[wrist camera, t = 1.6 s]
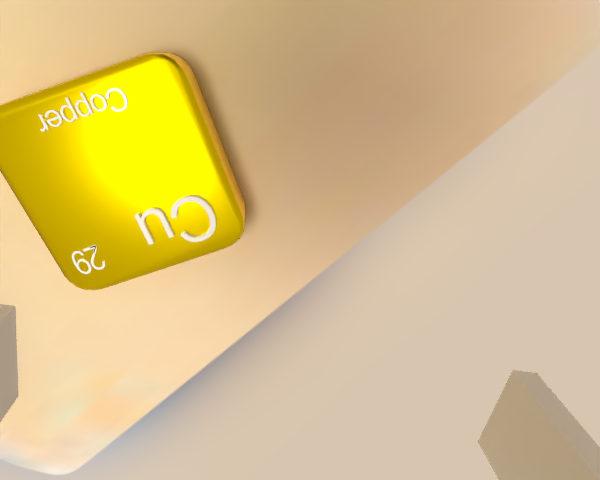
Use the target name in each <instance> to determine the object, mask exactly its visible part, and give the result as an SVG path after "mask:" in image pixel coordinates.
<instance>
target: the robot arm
mask: <svg viewBox="0 0 600 480" xmlns="http://www.w3.org/2000/svg"><path fill="white" fill-rule="evenodd" d="M17 397H18V373H17V343H16V312H15V306H9V305H2V304H0V422H1V420H2V419H3V418H4V416H5V415H6V413H7V412H8V410H9V409H10V407H11V406H12V404H13V403H14V402H15V400H16V399H17ZM478 443H479V444H480V446H481V448H482V450H483V452H484V453H485V455H486V457H487V459H488V461H489V462H490V464H491V466H492V468H493V470H494V472H495V473H496V475H497V477H498V479H499V480H600V447H599V446H598V445H597V444H596V442H595V441H594V440H593V439H592V438H591V437H590V435H589V434H588V433H587V432H586V431H585V430H584V429H583V427H582V426H581V425H580V424H579V422H578V421H577V420H576V419H575V418H574V417H573V415H572V414H571V413H570V412H569V411H568V409H567V408H566V407H565V406H564V405H563V403H562V402H561V401H560V400H559V399H558V398H557V396H556V395H555V394H554V393H553V392H552V390H551V389H550V388H549V387H548V386H547V385H546V383H545V382H544V381H543V380H542V379H541V377H540V376H539V375H538V374H537V373H531V372H522V371H515V370H513V371H512V373H511V375H510V377H509V379H508V381H507V383H506V385H505V387H504V389H503V391H502V393H501V395H500V398H499V400H498V402H497V404H496V406H495V408H494V410H493V412H492V414H491V416H490V418H489V420H488V422H487V424H486V426H485V428H484V430H483V432H482V434H481V437H480V438H479V440H478Z"/></svg>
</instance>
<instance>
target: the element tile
mask: <svg viewBox="0 0 600 480" xmlns="http://www.w3.org/2000/svg"><path fill="white" fill-rule="evenodd" d="M0 171H1V173H2V174H3V176H4V178H5V179H6V181H7V182H8V184H9V186H10V187H11V189H12V191H13V192H14V194H15V196H16V197H17V199H18V200H19V202H20V204H21V205H22V207H23V209H24V210H25V212H26V214H27V215H28V217H29V218H30V220H31V222H32V223H33V225H34V227H35V228H36V230H37V231H38V233H39V235H40V236H41V238H42V240H43V241H44V243H45V245H46V246H47V248H48V249H49V251H50V253H51V254H52V256H53V258H54V259H55V261H56V263H57V264H58V266H59V267H60V269H61V271H62V272H63V274H64V276H65V277H66V278H67V279H68V280H69V281H70V282H71V283H73V284H74V285H75V286H76V287H79V288H82V289H84V290H99V289H103V288H106V287H109V286H112V285H116V284H119V283H122V282H125V281H128V280H131V279H134V278H137V277H140V276H143V275H146V274H149V273H152V272H155V271H158V270H161V269H164V268H167V267H170V266H173V265H176V264H179V263H182V262H185V261H188V260H191V259H194V258H197V257H200V256H203V255H206V254H209V253H212V252H215V251H218V250H221V249H224V248H226V247H228V246H230V245H232V244H234V243H235V242H236V241H237V240H238V239H240V237H241V235H242V233H243V231H244V222H245V202H244V200H243V197H242V194H241V192H240V189H239V187H238V184H237V182H236V179H235V177H234V174H233V172H232V169H231V166H230V164H229V161H228V159H227V156H226V154H225V151H224V149H223V146H222V143H221V141H220V138H219V136H218V133H217V131H216V128H215V126H214V123H213V120H212V118H211V115H210V113H209V110H208V108H207V105H206V103H205V100H204V98H203V95H202V92H201V90H200V87H199V85H198V82H197V80H196V77H195V75H194V73H193V71H192V69H191V67H190V66H189V65H188V64H187V63H186V62H185V60H184V59H183V58H181V57H179V56H177V55H175V54H172V53H148V54H143V55H140V56H137V57H134V58H132V59H129V60H126V61H123V62H120V63H117V64H115V65H112V66H109V67H106V68H103V69H101V70H98V71H95V72H92V73H89V74H86V75H84V76H81V77H78V78H75V79H72V80H70V81H67V82H64V83H61V84H58V85H55V86H53V87H50V88H47V89H44V90H41V91H38V92H36V93H33V94H30V95H27V96H24V97H22V98H19V99H16V100H13V101H10V102H7V103H5V104H2V105H0Z"/></svg>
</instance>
